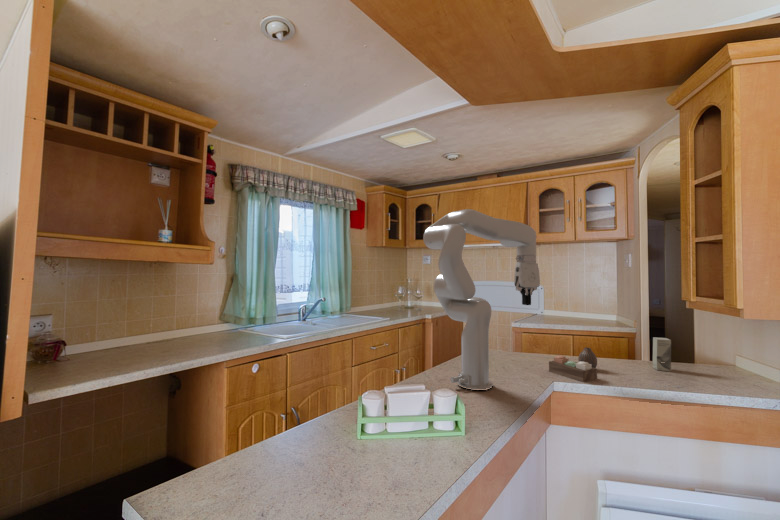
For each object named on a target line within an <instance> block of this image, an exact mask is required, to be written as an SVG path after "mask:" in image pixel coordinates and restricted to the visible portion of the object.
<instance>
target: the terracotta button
mask: <svg viewBox="0 0 780 520" xmlns="http://www.w3.org/2000/svg"><path fill="white" fill-rule="evenodd" d="M553 361H554V362H557V363H561V364H565V363H566V362H567V361H570V360H569V358H568V357H566V356H564V355H556V356H554V357H553Z"/></svg>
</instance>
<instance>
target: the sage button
mask: <svg viewBox="0 0 780 520" xmlns="http://www.w3.org/2000/svg"><path fill="white" fill-rule="evenodd" d="M576 363H578V361H573V360H569V361H567V362H566V363H565V365H568V366H571V367H576Z"/></svg>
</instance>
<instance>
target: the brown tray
mask: <svg viewBox="0 0 780 520" xmlns="http://www.w3.org/2000/svg"><path fill="white" fill-rule="evenodd" d="M548 372H550V373H553V374H556V375H559V376H562V377H566V378H567V379H568V378H569V379H571V380H574V381H577V382H581V383H586V382H591V381H595V380H594V379H596V380H598V368H597V367H596V368H593V367H592V369H590V370H582V369H578V368H576V367H571V366H568V365H565V364H561V363H557V362H554V360H550V361H548ZM590 380H591V381H590Z"/></svg>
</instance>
